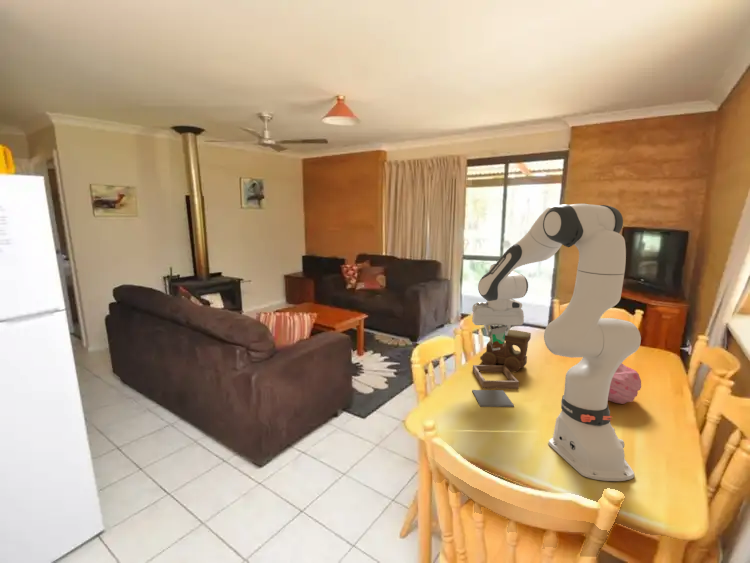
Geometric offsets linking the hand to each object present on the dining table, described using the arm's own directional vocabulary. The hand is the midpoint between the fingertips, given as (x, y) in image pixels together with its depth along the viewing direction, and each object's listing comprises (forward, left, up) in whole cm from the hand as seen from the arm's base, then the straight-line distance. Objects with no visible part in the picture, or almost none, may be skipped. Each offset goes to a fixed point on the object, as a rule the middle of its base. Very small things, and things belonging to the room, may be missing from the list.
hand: (496, 335), depth 149 cm
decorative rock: (-18, -39, -20) cm, 47 cm away
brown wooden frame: (0, 0, -20) cm, 20 cm away
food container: (0, -1, -6) cm, 6 cm away
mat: (-17, +6, -20) cm, 26 cm away
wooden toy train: (+15, -9, -20) cm, 27 cm away
